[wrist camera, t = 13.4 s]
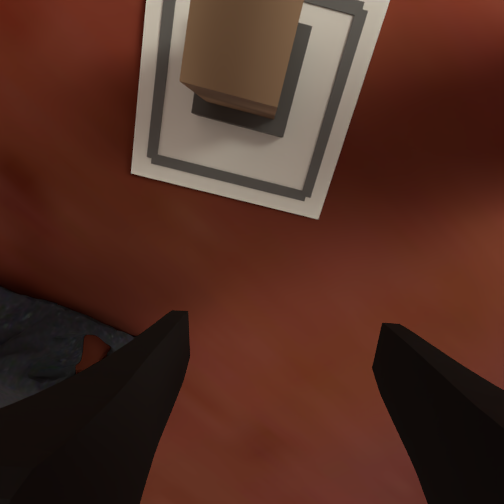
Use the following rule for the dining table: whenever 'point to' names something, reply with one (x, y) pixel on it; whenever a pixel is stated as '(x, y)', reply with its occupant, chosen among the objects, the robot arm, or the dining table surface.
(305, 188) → the print card
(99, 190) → the dining table surface
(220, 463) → the dining table surface
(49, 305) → the dark slate chunk
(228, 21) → the stamp
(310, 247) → the dining table surface
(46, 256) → the dining table surface
